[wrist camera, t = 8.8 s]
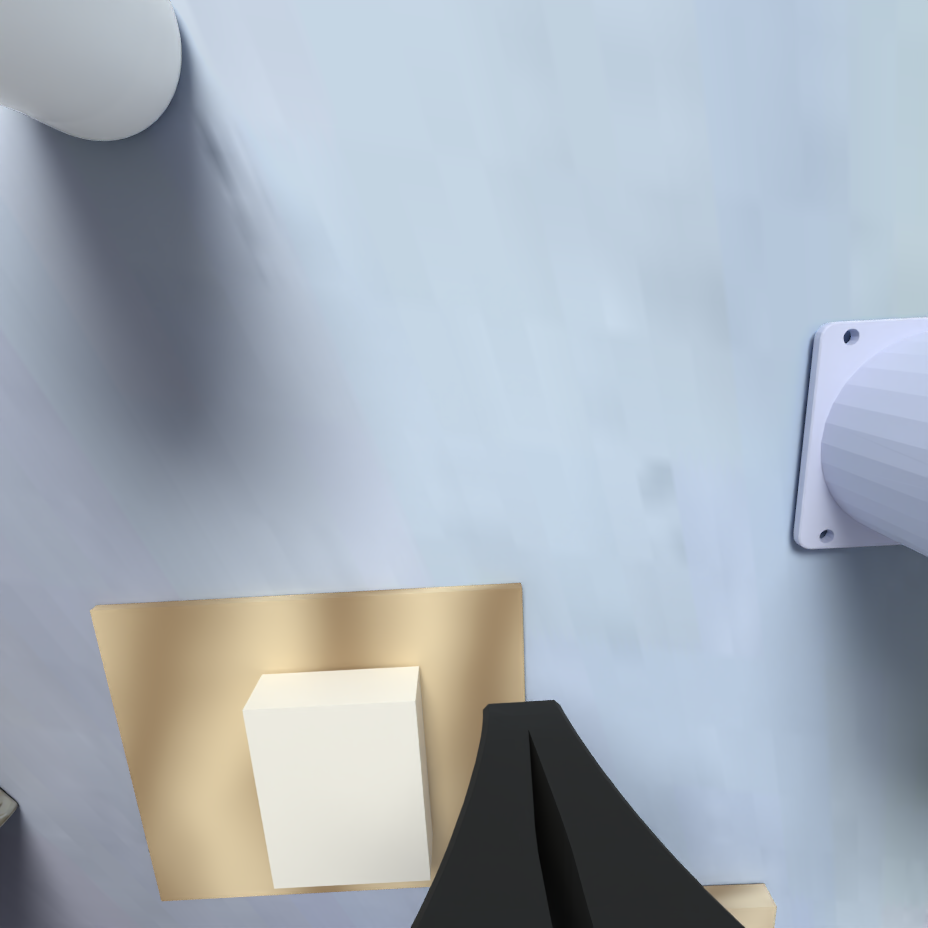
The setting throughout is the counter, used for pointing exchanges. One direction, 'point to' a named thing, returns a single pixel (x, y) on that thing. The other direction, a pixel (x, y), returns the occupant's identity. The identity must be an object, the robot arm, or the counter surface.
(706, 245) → the counter surface
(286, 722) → the white block
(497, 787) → the robot arm
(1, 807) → the coffee box
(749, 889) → the beech spatula
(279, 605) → the bamboo mat
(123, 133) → the drinking glass
